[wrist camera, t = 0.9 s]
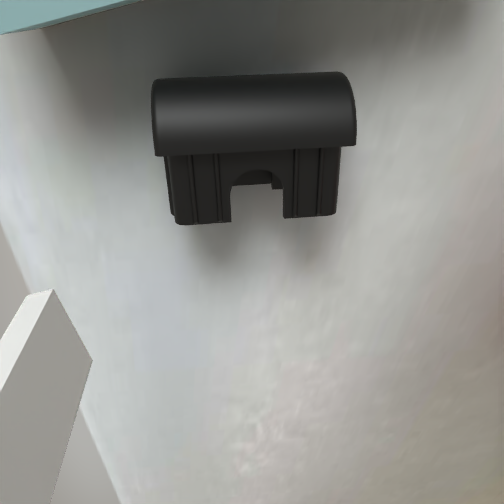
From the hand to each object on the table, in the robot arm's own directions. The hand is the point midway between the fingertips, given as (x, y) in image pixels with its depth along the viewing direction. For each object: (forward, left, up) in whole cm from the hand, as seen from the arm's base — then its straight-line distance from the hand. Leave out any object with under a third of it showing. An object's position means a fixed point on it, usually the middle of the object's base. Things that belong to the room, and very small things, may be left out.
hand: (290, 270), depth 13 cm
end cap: (0, 0, -17) cm, 18 cm away
